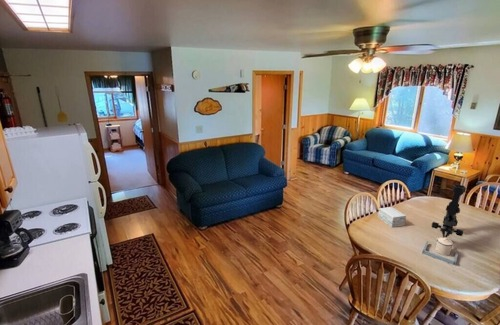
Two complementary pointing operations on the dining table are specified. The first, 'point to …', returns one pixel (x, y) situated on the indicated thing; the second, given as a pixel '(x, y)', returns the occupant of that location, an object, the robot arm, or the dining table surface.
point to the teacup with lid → (443, 246)
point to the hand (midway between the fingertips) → (443, 239)
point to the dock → (439, 256)
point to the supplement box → (391, 216)
